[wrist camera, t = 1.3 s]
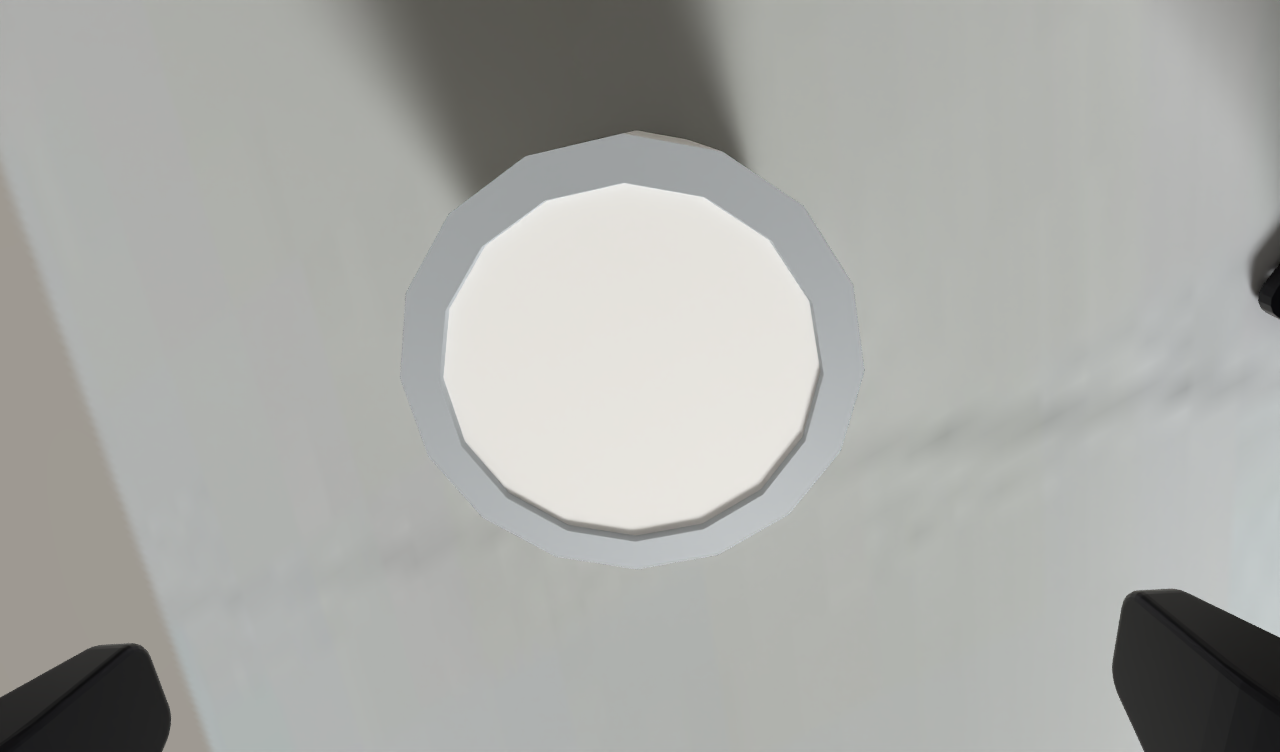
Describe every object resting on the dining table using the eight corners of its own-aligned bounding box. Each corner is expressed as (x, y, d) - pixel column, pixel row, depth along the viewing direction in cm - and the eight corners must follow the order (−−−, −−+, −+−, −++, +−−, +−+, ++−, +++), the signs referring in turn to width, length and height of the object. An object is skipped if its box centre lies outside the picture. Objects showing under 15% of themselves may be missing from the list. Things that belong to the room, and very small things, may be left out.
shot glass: (787, 397, 20) (850, 572, 13) (501, 402, 20) (426, 575, 13) (800, 95, 17) (887, 127, 11) (472, 103, 17) (362, 141, 11)
